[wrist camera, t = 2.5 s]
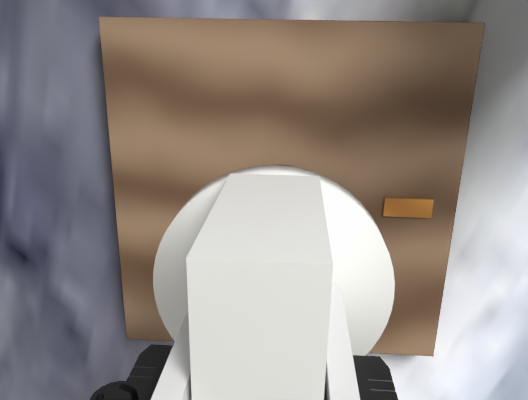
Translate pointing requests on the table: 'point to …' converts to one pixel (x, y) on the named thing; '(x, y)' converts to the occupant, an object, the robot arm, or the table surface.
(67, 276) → the table surface
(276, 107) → the post board
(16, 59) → the table surface
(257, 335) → the cap
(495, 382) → the table surface
